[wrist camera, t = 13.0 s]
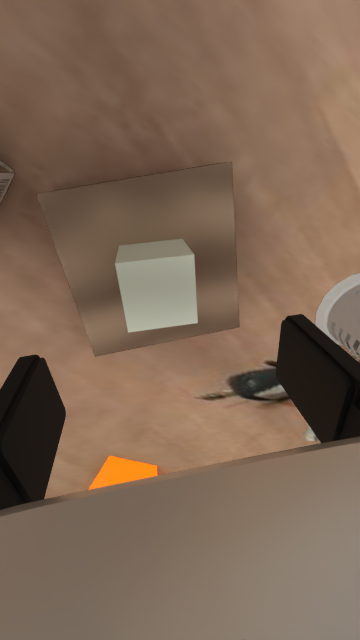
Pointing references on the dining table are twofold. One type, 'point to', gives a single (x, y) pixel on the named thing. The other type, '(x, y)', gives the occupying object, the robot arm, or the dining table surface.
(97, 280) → the walnut block
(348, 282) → the french press
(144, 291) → the sage cube
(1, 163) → the coffee box
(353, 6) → the dining table surface
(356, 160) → the dining table surface
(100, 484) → the orange juice
